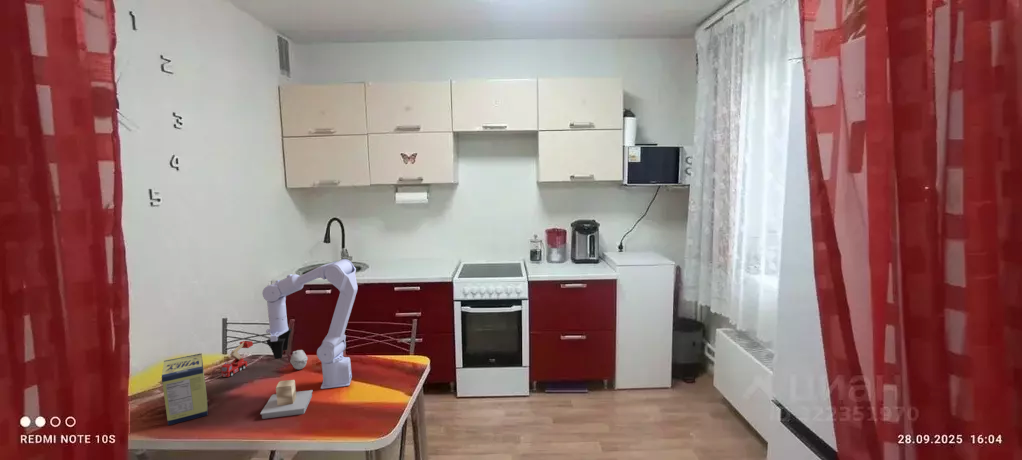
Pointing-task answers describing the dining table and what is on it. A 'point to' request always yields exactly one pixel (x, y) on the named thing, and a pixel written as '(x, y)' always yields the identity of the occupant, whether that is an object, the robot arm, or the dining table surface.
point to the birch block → (286, 392)
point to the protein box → (184, 388)
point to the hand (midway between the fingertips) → (281, 354)
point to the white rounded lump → (298, 359)
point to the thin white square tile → (287, 406)
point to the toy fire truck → (236, 361)
